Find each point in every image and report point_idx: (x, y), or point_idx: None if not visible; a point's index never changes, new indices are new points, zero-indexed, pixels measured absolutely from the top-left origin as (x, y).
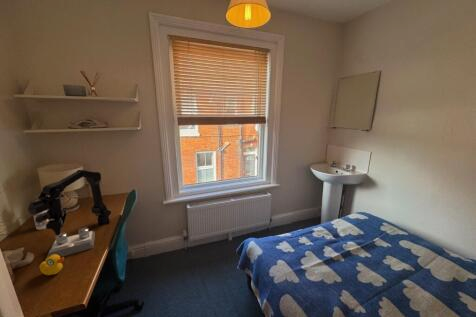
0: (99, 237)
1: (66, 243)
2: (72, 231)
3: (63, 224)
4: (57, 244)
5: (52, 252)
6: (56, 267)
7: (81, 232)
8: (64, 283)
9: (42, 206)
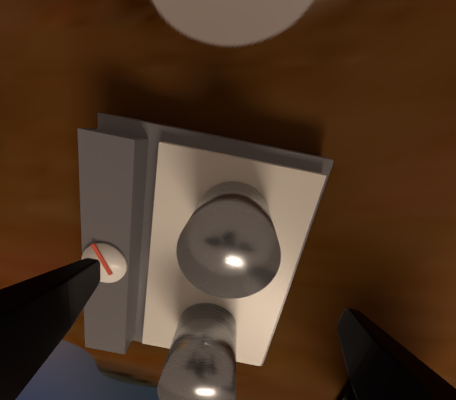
0: None
1: None
2: (429, 261)
3: (355, 391)
4: (215, 186)
5: (82, 153)
6: None
7: (161, 375)
8: None
9: None
